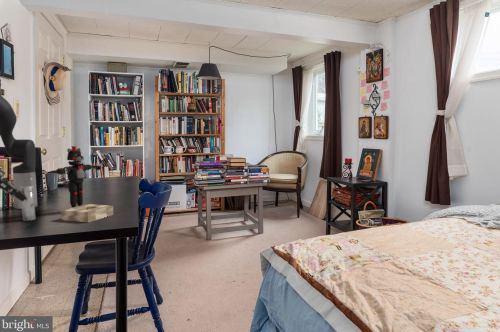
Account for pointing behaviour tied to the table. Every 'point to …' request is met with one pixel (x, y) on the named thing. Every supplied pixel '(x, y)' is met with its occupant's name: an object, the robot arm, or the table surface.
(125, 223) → the table surface
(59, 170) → the toy
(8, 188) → the robot arm
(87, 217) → the socket
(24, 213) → the pin
